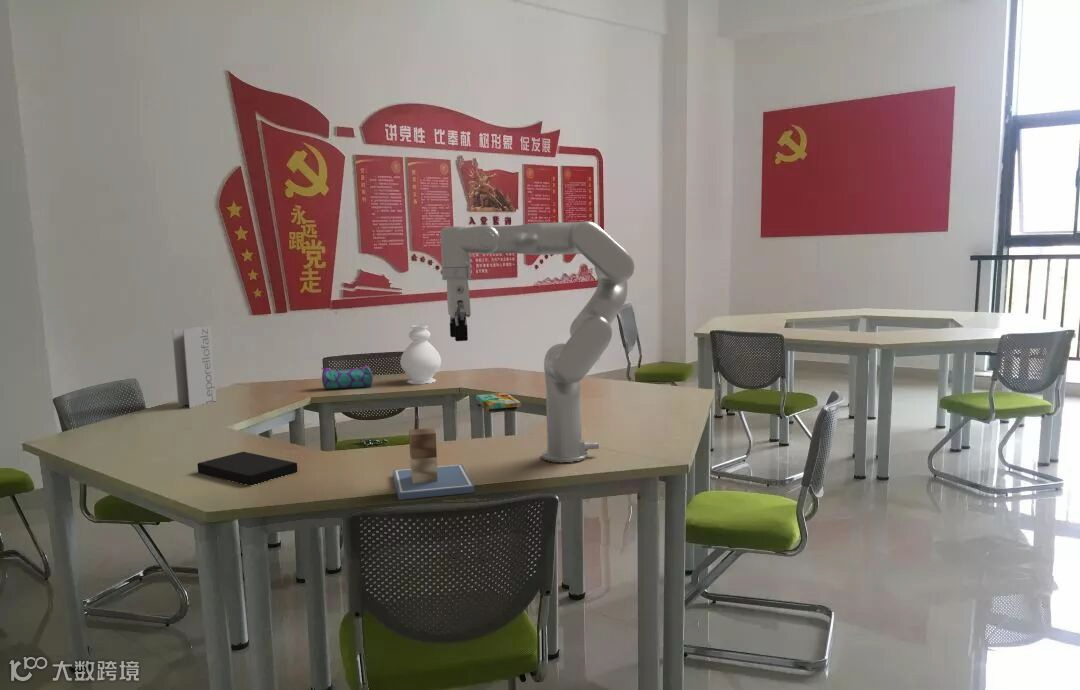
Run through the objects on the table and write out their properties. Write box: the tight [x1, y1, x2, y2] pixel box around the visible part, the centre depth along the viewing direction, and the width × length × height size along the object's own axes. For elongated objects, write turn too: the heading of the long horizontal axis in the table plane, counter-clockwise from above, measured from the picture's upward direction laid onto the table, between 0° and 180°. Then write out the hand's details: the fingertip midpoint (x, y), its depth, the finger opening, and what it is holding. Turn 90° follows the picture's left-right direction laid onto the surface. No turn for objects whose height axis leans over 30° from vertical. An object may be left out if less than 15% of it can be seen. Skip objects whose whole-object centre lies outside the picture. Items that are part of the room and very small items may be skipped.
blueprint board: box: [392, 463, 475, 501], centre depth 192 cm, size 18×20×2 cm
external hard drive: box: [197, 451, 298, 486], centre depth 206 cm, size 14×23×3 cm, turn 56°
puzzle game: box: [475, 392, 522, 414], centre depth 281 cm, size 12×5×20 cm
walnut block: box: [408, 427, 438, 459], centre depth 191 cm, size 6×6×6 cm
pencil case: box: [321, 364, 374, 390], centre depth 331 cm, size 21×9×10 cm, turn 108°
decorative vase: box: [399, 324, 442, 385], centre depth 341 cm, size 18×18×25 cm
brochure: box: [171, 325, 217, 409], centre depth 300 cm, size 14×6×30 cm, turn 161°
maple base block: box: [409, 454, 438, 483], centre depth 191 cm, size 6×6×6 cm
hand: (458, 338), depth 205 cm, fingers open, 9 cm apart
